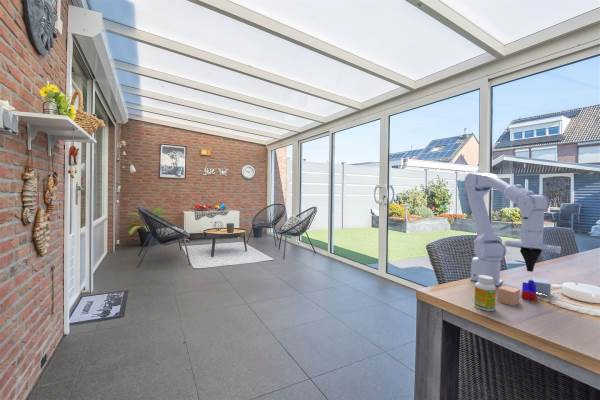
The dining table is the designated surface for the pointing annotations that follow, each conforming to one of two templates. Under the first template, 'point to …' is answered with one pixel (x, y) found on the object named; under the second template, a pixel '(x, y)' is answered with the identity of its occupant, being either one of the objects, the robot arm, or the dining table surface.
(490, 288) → the supplement bottle
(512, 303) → the terracotta block
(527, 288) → the toy building block
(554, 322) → the dining table surface
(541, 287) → the slate blue block
